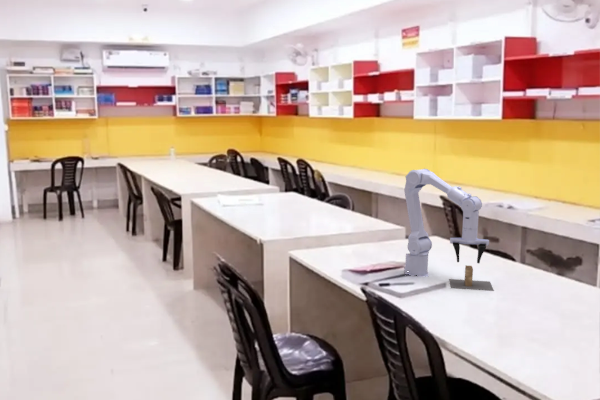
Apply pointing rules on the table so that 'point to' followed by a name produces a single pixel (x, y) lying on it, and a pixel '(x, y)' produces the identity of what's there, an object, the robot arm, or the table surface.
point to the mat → (475, 285)
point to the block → (468, 275)
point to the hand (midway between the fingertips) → (468, 262)
